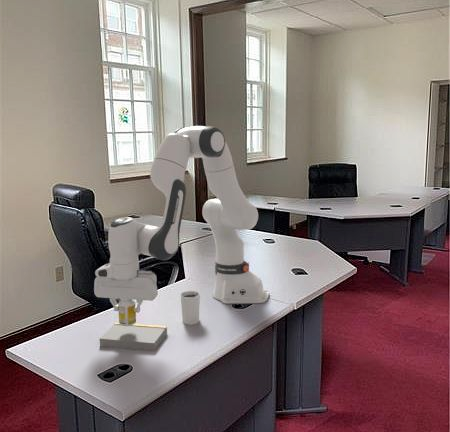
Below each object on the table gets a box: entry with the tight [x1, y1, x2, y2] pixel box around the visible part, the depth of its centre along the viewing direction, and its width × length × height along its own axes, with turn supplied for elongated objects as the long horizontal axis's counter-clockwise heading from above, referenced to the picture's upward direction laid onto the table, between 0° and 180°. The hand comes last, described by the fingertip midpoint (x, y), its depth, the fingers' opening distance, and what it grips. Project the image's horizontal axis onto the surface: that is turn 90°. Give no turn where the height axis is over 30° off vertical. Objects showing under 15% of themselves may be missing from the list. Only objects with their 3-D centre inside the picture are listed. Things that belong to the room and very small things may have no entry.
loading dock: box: [99, 321, 168, 352], centre depth 148 cm, size 18×12×3 cm, turn 78°
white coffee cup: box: [180, 290, 201, 326], centre depth 161 cm, size 7×7×10 cm
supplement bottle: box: [117, 297, 137, 326], centre depth 147 cm, size 5×5×10 cm
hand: (127, 311), depth 147 cm, fingers closed on supplement bottle, 5 cm apart
